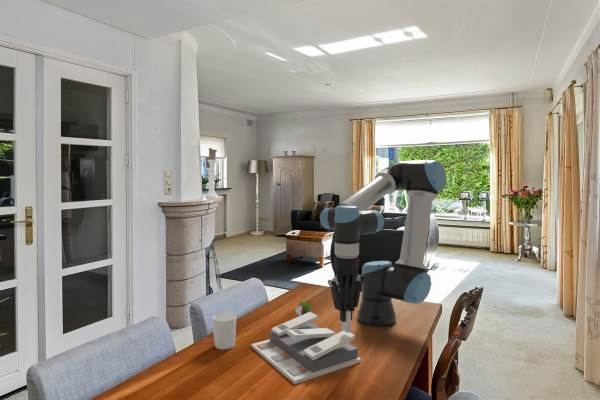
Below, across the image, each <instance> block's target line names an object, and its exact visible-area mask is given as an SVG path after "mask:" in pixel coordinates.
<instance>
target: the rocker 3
mask: <svg viewBox="0 0 600 400" xmlns="http://www.w3.org/2000/svg"><path fill="white" fill-rule="evenodd" d="M355 339H356V335H355V334H353V333H352V332H348V333H346V332H345V331H343V330H341V331H340V332H338V333H336V334H335V335H333V336H331V337H329V338H327V339H325V340H323V341H321V342H319V343H317V344H315V345H313V346H311V347H309V348H307V349H305V350H303V352H304V354H305V355H306V356H308V357H309V358H310V359H312V360H315V359H317V358H319V357H321V356H323V355H325V354H327V353H329V352H331V351H333V350H335V349H336V348H338V347H340V346H342V345H344V344H346V343H350V342H352V341H354V340H355Z"/></svg>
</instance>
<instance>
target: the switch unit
mask: <svg viewBox="0 0 600 400" xmlns="http://www.w3.org/2000/svg"><path fill="white" fill-rule="evenodd" d="M317 328H321V326H318V325H317V324H315V323H314V322H311V323H308V324H306V325H304V326H302V327H300V328H297V329H317ZM295 330H296V329H295ZM327 338H329V337H320V338H305V339H294V338H292V337H291V336H289V335H288V334H284V335H282V336H280V337H279V336H278V335H276V334H275V333H274V332H272V331H270V332H269V339H266V340H262V341H258V342H255V343H251V345H250V347H251V348H252V349H253V350H254V351H255V352H256V353H258V354H259V355H260V356H261V357H262V358H263V359H264V360H266V361H267V362H268V363H269V364H271V365H272V367H274V368H275V369H276V370H278V371H279V372H280V373H281V374H282V375H283V376H284V377H285V378H287V379H288V380H289V381H290V382H291V383H293V384H294V385H297V384H299V383H302V382H305V381H309V380H311V379H314V378H318V377H321V376H323V375H326V374H328V373H332V372H336V371H338V370H341V369H344V368H347V367H349V366H353V365H355V364H358V363H362V358H361V357H359V356H358V355H359V354H358V353H359V351H358V347H356V346H354V345H352V344H350V342H348V343H346V344H344V345H342V346H340V347H338V348H336V349H335V350H333V351H331V352H329V353H327V354H325V355H323V356H321V357H319V358H317V359H315V360H312V359H310V358H309V357H308V356H306V355H305V354H304V352H303V350H305V349H307V348H309V347H311V346H313V345H315V344H317V343H319V342H321V341H323V340H325V339H327Z"/></svg>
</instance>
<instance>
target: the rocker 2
mask: <svg viewBox="0 0 600 400" xmlns="http://www.w3.org/2000/svg"><path fill="white" fill-rule="evenodd" d="M286 334H288V335H289V336H291V337H292V338H294V339H305V338H320V337H331V336H333V335H335V334H337V333H336V332H335V331H333V330H332V329H329V328H327V327H320V328H317V329H296V330H287V333H286Z"/></svg>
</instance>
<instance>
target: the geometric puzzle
mask: <svg viewBox="0 0 600 400" xmlns="http://www.w3.org/2000/svg"><path fill="white" fill-rule="evenodd" d="M310 311H312V307H311V302H309V303H308V302H302V301H300V302H299V306H297V307H296V308H295V309H294V312H295V314H297V317H299V316H301V315H304V314H306V313H308V312H310ZM312 313H313V314H315V312H314V311H312Z"/></svg>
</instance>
